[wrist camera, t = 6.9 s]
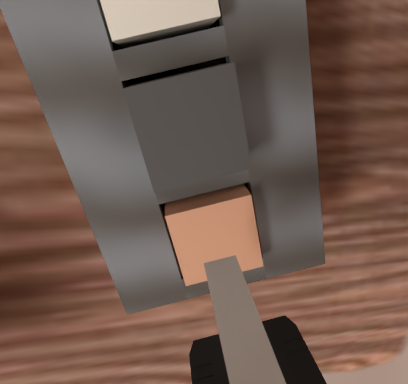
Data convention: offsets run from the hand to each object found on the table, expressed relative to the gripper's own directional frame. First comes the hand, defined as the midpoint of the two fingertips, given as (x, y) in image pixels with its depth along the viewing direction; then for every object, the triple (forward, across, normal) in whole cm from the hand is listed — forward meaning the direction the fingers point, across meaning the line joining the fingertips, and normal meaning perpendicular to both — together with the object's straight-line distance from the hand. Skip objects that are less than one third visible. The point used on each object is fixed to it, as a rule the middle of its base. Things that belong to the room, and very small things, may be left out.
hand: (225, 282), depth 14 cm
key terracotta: (+8, 0, 0) cm, 8 cm away
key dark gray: (+7, 0, +7) cm, 9 cm away
